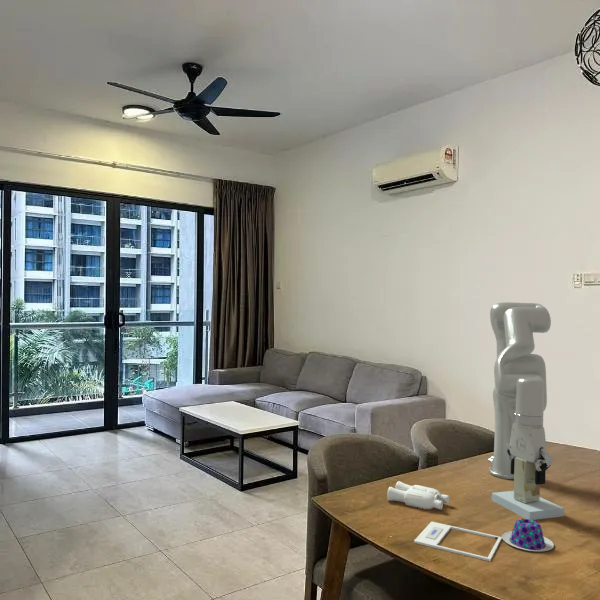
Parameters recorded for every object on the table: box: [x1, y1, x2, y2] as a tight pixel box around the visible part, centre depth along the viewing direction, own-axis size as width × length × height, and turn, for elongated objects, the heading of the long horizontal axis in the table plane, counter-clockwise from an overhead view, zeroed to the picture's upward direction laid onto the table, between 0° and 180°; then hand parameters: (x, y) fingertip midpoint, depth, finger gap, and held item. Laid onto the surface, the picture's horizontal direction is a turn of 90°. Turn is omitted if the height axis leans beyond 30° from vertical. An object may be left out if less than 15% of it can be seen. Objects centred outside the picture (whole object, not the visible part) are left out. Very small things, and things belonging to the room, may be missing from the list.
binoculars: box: [386, 480, 450, 510], centre depth 166 cm, size 10×16×5 cm, turn 57°
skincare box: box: [513, 457, 541, 503], centre depth 165 cm, size 6×4×12 cm
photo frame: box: [413, 520, 503, 562], centre depth 140 cm, size 15×1×18 cm
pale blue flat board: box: [491, 490, 565, 521], centre depth 165 cm, size 16×12×3 cm
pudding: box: [501, 518, 555, 552], centre depth 141 cm, size 12×12×5 cm
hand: (527, 478), depth 165 cm, fingers open, 9 cm apart
